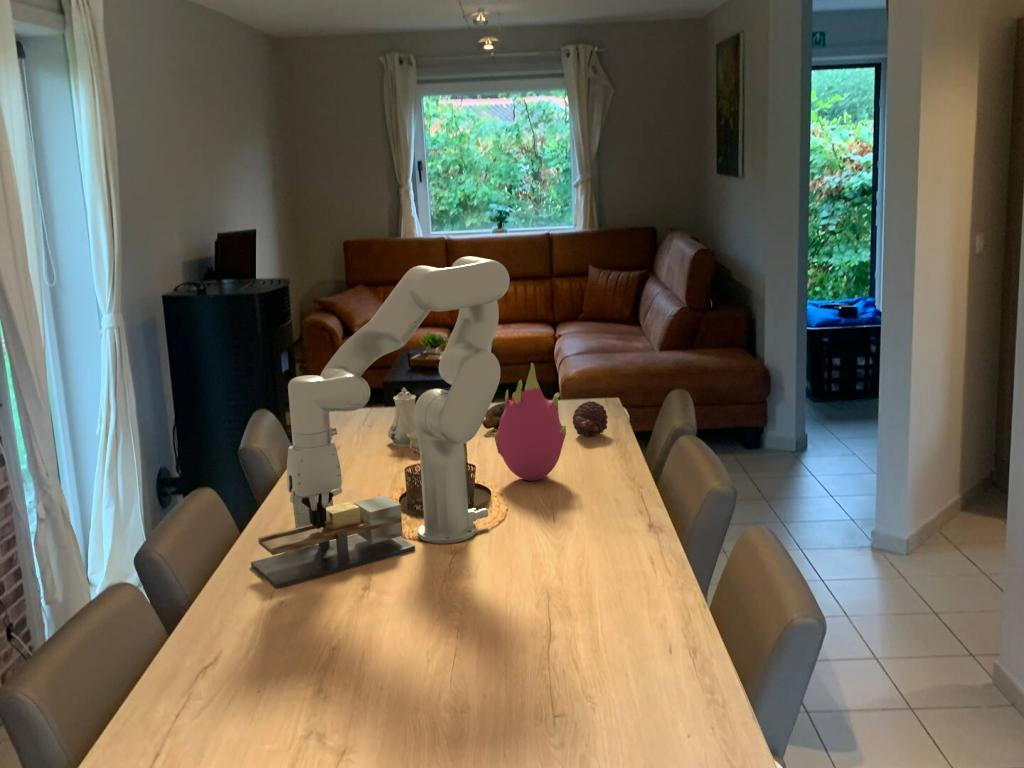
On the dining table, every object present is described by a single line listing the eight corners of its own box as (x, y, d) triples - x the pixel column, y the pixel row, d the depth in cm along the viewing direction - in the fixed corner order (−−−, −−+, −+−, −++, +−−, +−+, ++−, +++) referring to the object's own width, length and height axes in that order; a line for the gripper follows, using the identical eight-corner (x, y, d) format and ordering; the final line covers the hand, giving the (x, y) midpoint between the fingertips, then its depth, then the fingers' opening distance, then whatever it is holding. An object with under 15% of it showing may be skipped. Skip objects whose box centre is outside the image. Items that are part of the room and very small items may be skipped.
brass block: (351, 519, 210) (349, 501, 209) (360, 525, 206) (359, 507, 205) (324, 526, 207) (323, 507, 206) (333, 532, 203) (332, 513, 202)
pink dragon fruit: (571, 471, 256) (567, 355, 249) (564, 489, 243) (560, 366, 236) (502, 470, 259) (496, 355, 252) (491, 487, 246) (485, 367, 239)
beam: (386, 525, 217) (384, 495, 215) (402, 535, 210) (400, 504, 209) (260, 558, 202) (257, 525, 200) (274, 569, 195) (271, 536, 194)
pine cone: (572, 428, 296) (571, 394, 294) (606, 426, 295) (605, 393, 293) (573, 445, 279) (572, 410, 276) (609, 444, 278) (609, 408, 276)
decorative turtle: (534, 425, 300) (533, 400, 298) (499, 440, 290) (497, 414, 288) (510, 419, 307) (509, 394, 304) (475, 433, 297) (473, 407, 294)
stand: (384, 531, 220) (382, 501, 219) (415, 550, 209) (413, 518, 207) (251, 566, 204) (247, 534, 203) (276, 589, 193) (273, 555, 191)
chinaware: (440, 462, 274) (443, 402, 271) (379, 457, 275) (381, 398, 271) (450, 433, 302) (452, 379, 298) (394, 430, 302) (396, 375, 298)
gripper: (338, 428, 207) (344, 513, 211) (268, 441, 198) (276, 529, 202) (354, 435, 200) (360, 523, 204) (282, 449, 192) (290, 540, 196)
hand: (318, 526), depth 203 cm, fingers closed
